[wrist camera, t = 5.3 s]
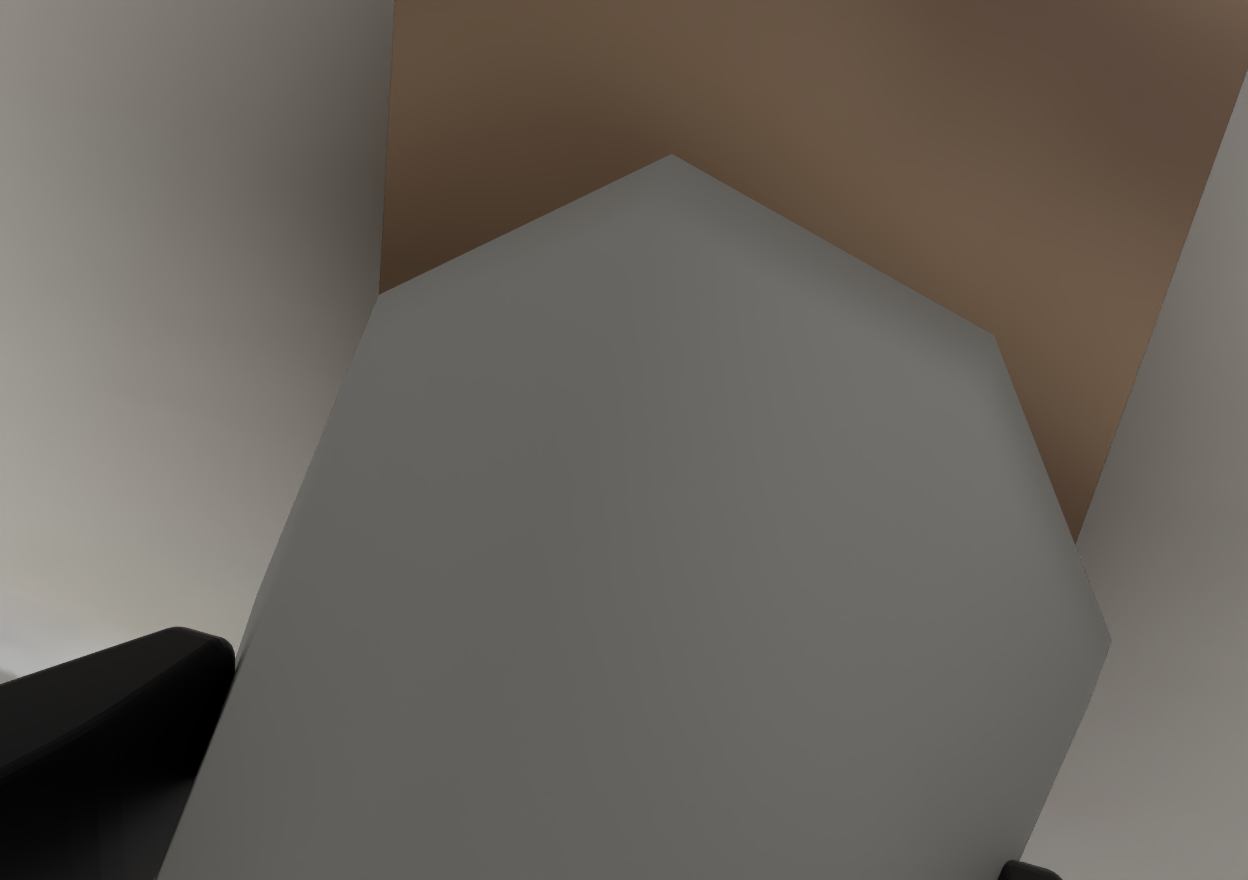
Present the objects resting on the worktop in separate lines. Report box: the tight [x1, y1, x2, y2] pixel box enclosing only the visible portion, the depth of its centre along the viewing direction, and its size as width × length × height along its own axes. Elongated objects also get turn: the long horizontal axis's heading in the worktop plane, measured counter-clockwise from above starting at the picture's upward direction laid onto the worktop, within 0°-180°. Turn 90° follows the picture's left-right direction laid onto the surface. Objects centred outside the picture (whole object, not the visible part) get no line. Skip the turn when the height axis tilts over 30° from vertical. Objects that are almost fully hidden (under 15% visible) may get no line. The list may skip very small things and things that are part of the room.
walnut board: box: [379, 0, 1248, 544], centre depth 18 cm, size 18×12×1 cm, turn 171°
